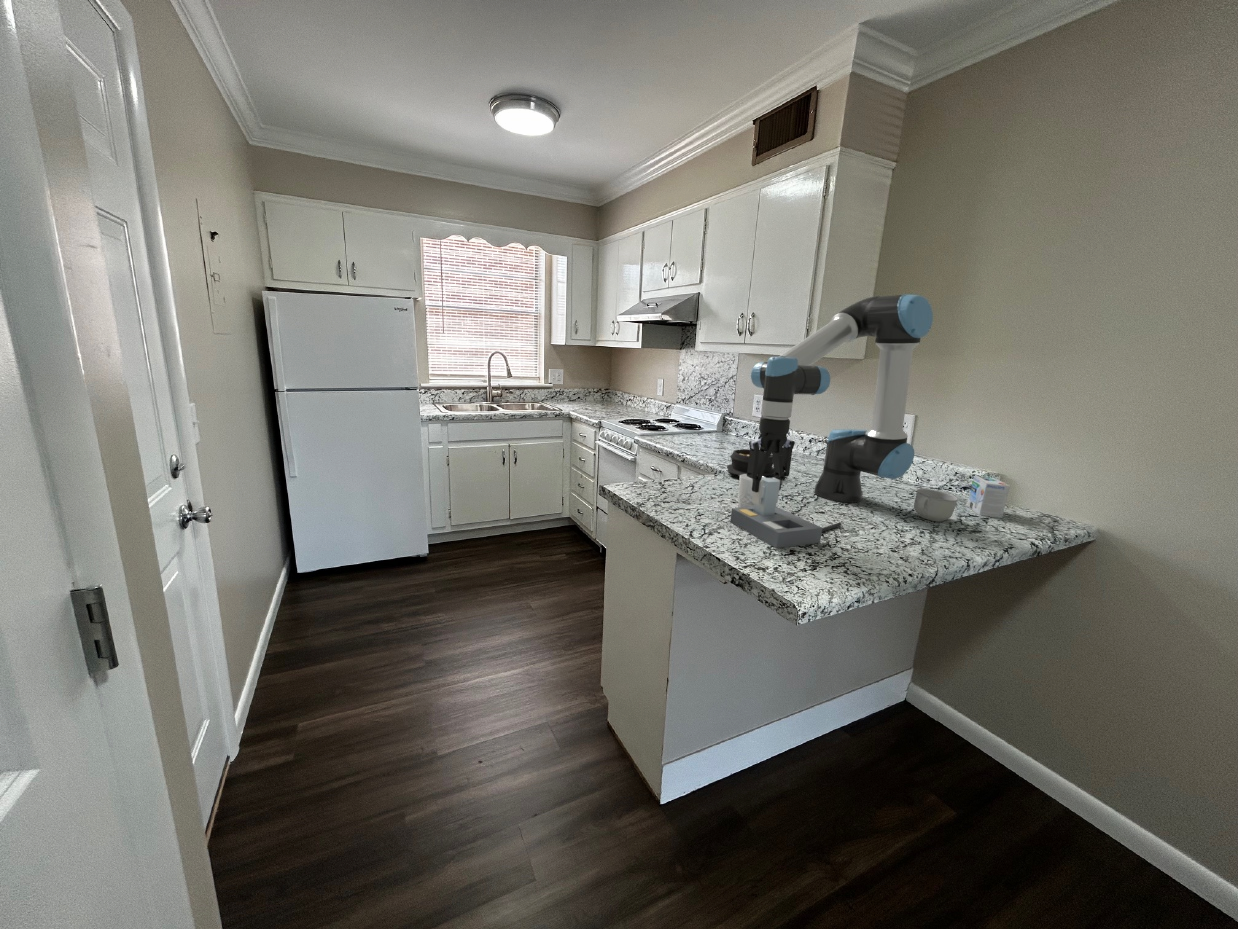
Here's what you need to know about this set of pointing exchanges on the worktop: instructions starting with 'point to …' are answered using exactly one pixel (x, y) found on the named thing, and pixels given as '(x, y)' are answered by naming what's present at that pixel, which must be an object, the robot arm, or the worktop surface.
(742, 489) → the white cup
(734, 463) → the casserole
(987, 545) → the worktop surface
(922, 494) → the teacup
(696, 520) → the worktop surface
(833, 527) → the patch cord
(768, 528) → the panel
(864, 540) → the worktop surface
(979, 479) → the light bulb box
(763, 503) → the plug
